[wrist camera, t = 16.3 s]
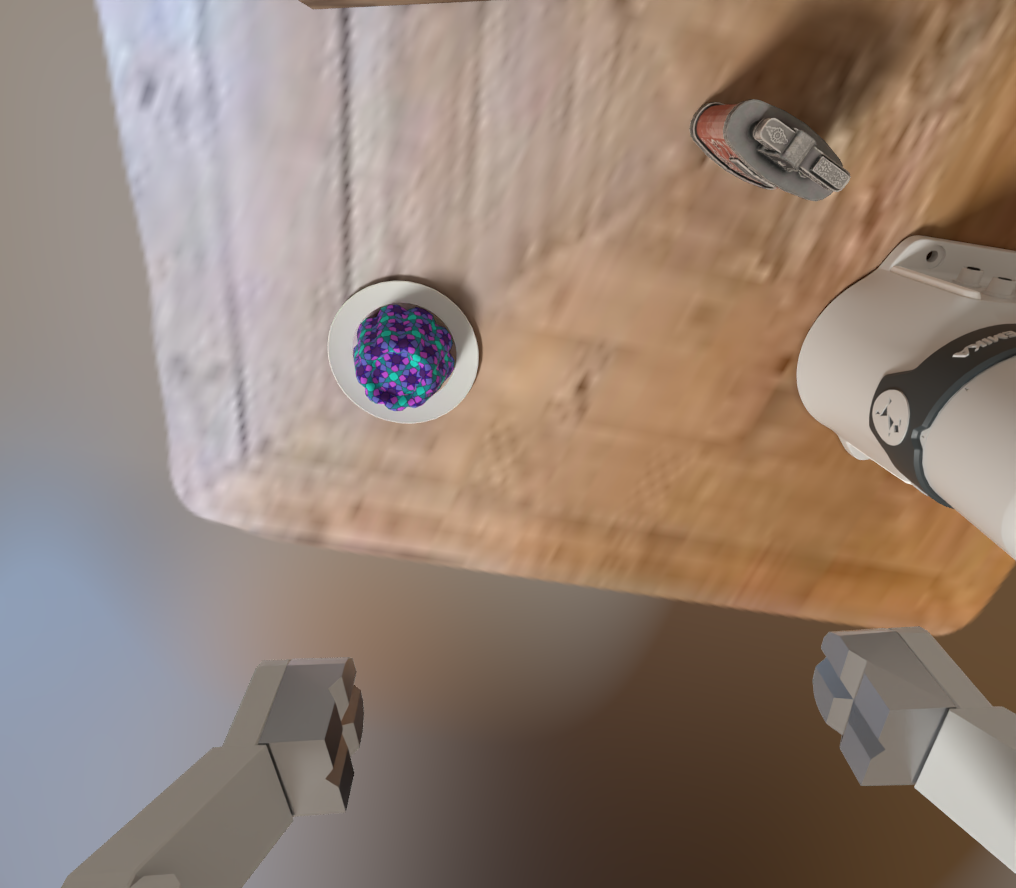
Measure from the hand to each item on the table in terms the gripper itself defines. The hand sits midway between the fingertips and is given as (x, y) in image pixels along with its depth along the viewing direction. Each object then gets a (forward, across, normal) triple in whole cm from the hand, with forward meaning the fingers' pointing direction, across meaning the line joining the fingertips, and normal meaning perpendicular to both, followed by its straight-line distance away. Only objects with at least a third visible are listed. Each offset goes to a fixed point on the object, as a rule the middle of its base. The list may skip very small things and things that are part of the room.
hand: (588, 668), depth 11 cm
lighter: (+39, +16, +6) cm, 43 cm away
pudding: (+40, -9, -8) cm, 42 cm away
